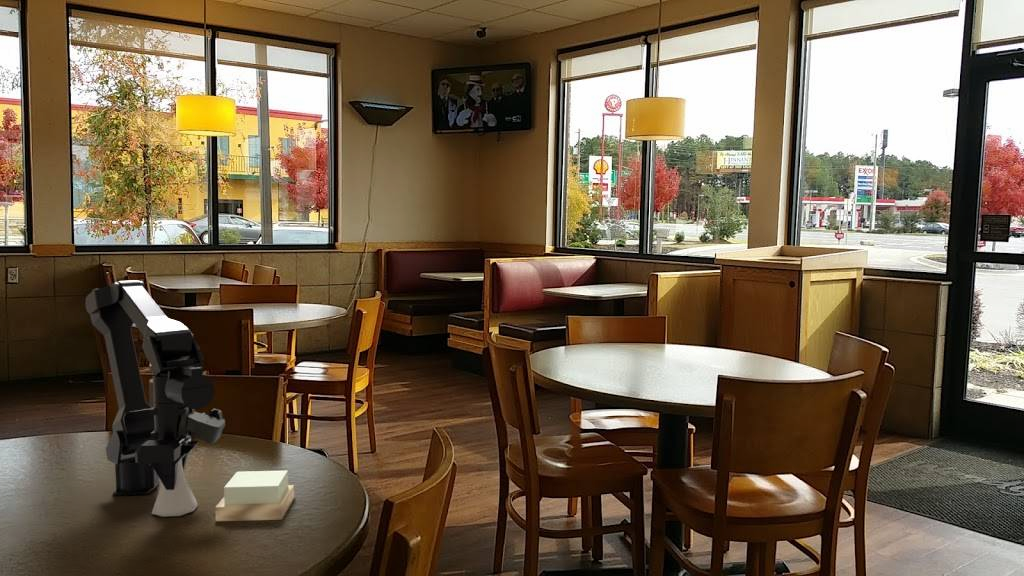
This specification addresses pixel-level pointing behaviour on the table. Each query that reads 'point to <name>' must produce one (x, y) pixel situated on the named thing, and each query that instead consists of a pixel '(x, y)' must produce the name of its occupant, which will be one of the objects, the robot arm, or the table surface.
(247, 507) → the tower base
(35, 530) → the table surface
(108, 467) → the table surface
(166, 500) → the flask
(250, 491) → the tower top
